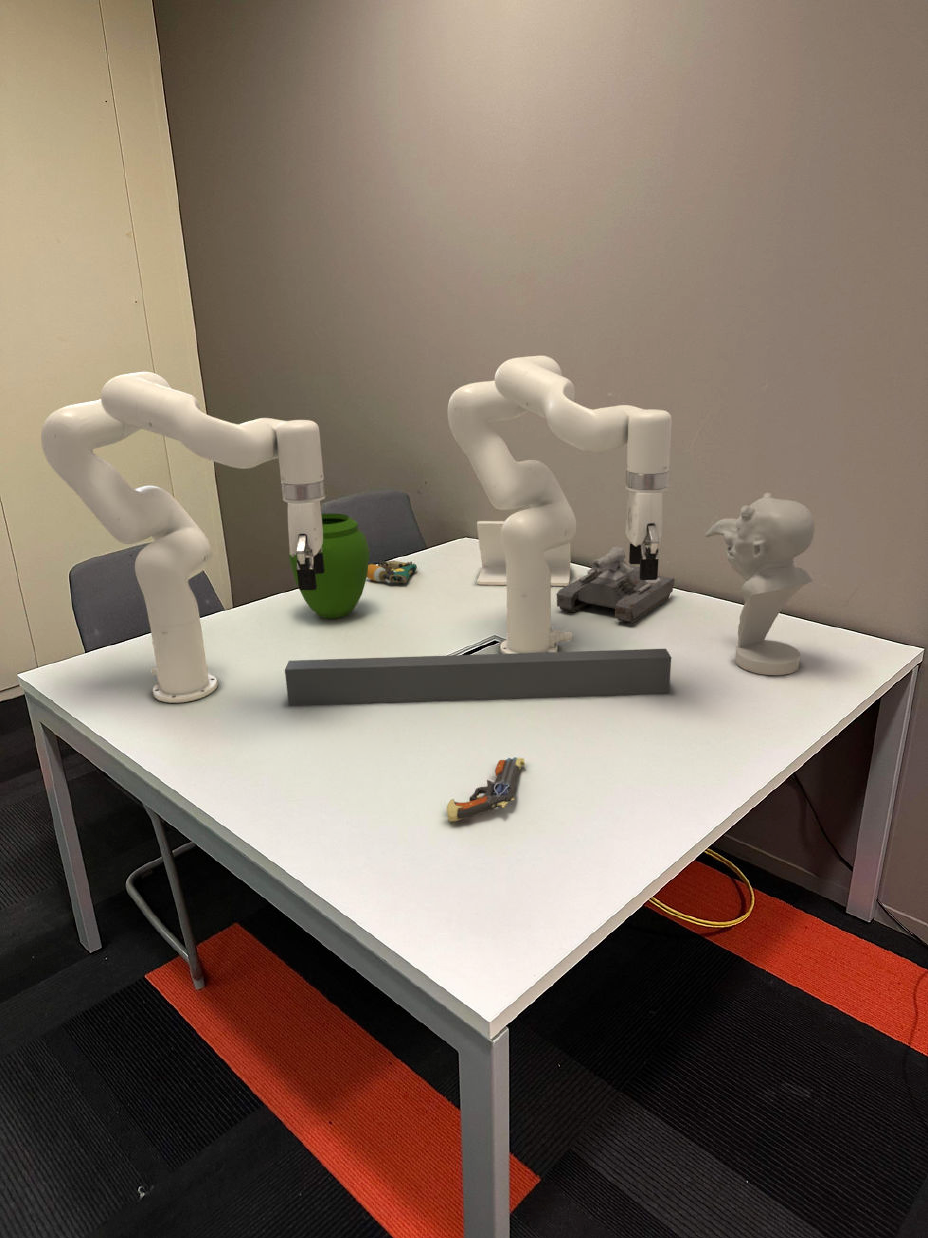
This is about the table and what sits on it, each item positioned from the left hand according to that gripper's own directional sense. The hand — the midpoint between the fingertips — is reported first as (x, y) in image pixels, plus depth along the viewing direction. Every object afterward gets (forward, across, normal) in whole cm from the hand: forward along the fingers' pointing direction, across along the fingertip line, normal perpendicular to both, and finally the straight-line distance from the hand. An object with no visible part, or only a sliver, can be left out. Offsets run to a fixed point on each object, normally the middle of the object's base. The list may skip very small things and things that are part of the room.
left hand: (312, 581), depth 160 cm
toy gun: (+25, +36, +31) cm, 53 cm away
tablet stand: (+25, -76, +46) cm, 92 cm away
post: (+25, 0, +31) cm, 39 cm away
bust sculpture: (+25, -13, +88) cm, 92 cm away
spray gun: (+25, -78, +9) cm, 82 cm away
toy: (+25, -49, +66) cm, 86 cm away
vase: (+25, -49, -4) cm, 55 cm away
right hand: (0, 0, +62) cm, 62 cm away
